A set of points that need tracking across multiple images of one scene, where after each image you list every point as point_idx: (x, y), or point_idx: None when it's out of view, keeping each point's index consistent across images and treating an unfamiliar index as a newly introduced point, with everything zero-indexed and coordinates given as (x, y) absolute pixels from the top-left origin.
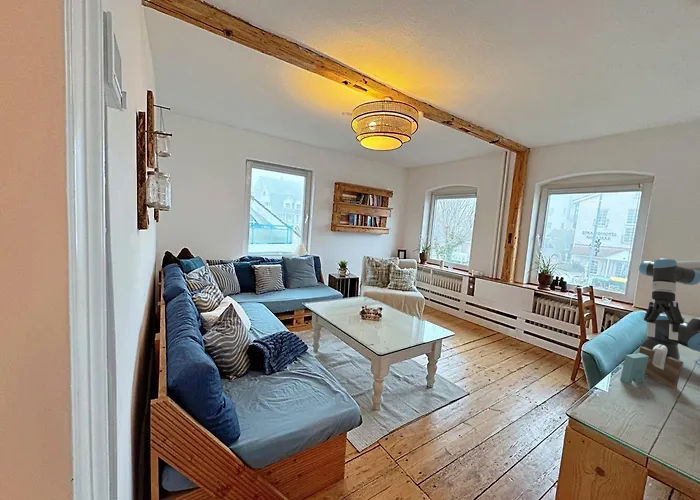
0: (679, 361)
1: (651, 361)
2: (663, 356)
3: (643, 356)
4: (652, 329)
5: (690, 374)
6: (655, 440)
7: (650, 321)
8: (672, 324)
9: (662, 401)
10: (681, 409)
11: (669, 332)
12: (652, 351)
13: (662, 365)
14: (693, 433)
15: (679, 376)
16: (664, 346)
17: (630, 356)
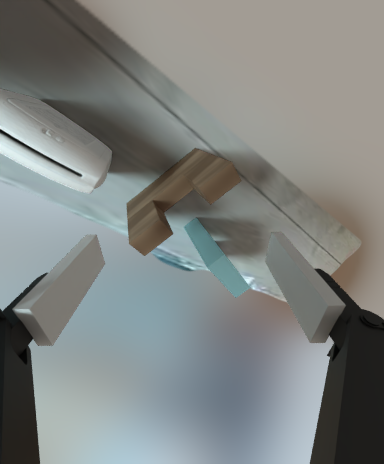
0: (232, 175)
1: (156, 206)
2: (96, 150)
3: (230, 267)
4: (76, 278)
5: None
6: (331, 255)
7: (16, 344)
8: (327, 332)
9: (263, 215)
10: (281, 196)
11: (283, 287)
12: (169, 229)
13: (81, 130)
14: (326, 212)
15: (207, 153)
16: (29, 132)
17: (241, 291)
